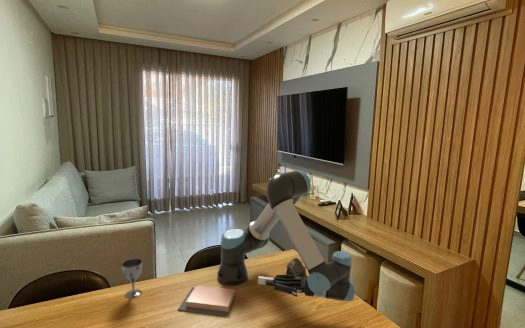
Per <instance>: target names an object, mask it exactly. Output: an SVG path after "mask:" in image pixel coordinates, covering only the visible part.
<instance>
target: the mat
mask: <svg viewBox="0 0 525 328" xmlns="http://www.w3.org/2000/svg"><path fill="white" fill-rule="evenodd" d="M195 287H196V286H193V287H191V289H190V290H189V292H188V293H187V295H186V296H185V297H184V299H183V301H182V302H181V303H180V306H179V307H178V308H177V311H180V312H187V313H196V314H204V315H211V316H219V317H220V316H221V317H225V316H226V315H227V312H225V311H217V310H209V309H201V308H193V307H186V301H187V299H188V298H189V296H190V294H191V293H192V291H193V290H194V288H195Z"/></svg>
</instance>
